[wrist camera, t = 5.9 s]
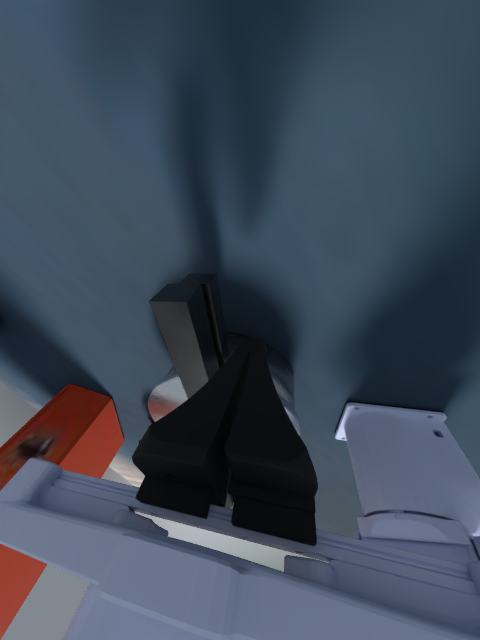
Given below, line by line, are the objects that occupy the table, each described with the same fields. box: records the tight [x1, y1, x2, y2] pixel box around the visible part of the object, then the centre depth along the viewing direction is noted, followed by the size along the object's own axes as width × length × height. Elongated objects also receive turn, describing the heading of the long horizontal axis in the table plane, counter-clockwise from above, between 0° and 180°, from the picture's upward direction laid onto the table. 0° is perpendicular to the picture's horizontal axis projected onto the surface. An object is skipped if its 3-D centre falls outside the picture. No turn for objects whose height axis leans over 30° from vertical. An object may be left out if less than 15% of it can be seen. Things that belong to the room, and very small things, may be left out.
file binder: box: [0, 384, 124, 639], centre depth 26 cm, size 8×17×32 cm, turn 166°
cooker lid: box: [148, 284, 300, 436], centre depth 17 cm, size 22×15×2 cm, turn 5°
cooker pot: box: [167, 274, 294, 409], centre depth 21 cm, size 24×14×5 cm, turn 5°
